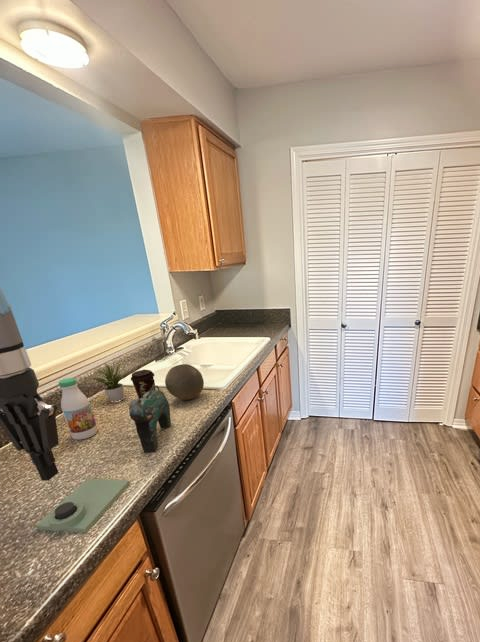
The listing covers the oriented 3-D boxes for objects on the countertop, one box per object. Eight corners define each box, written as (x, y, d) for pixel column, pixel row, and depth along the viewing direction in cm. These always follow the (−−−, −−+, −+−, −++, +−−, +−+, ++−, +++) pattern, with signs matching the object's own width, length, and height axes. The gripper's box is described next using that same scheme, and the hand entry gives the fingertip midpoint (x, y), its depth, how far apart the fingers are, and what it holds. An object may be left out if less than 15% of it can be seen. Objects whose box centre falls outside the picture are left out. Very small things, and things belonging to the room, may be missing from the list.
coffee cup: (156, 395, 138) (149, 367, 133) (163, 401, 132) (156, 371, 127) (135, 402, 133) (127, 372, 128) (140, 408, 127) (132, 377, 122)
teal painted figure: (156, 455, 97) (141, 394, 89) (134, 456, 96) (117, 395, 89) (176, 422, 115) (165, 369, 107) (158, 423, 115) (145, 371, 107)
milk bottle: (66, 438, 108) (46, 383, 100) (86, 427, 115) (68, 375, 107) (84, 441, 106) (64, 385, 98) (103, 429, 113) (86, 376, 105)
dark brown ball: (178, 393, 140) (171, 360, 134) (210, 392, 139) (204, 359, 133) (164, 408, 127) (156, 372, 121) (199, 407, 126) (193, 371, 120)
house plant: (119, 390, 145) (109, 356, 139) (144, 393, 141) (134, 357, 135) (91, 404, 133) (79, 367, 127) (117, 407, 129) (106, 369, 122)
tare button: (67, 520, 70) (65, 514, 70) (53, 519, 71) (50, 513, 70) (80, 508, 74) (77, 502, 73) (65, 507, 74) (63, 501, 74)
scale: (83, 535, 70) (79, 525, 68) (34, 532, 71) (29, 522, 70) (130, 483, 85) (127, 474, 84) (88, 482, 86) (85, 472, 85)
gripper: (55, 365, 62) (91, 466, 71) (-4, 365, 64) (38, 464, 73) (20, 380, 55) (64, 490, 64) (-46, 379, 57) (6, 486, 66)
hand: (50, 476), depth 68 cm, fingers closed
